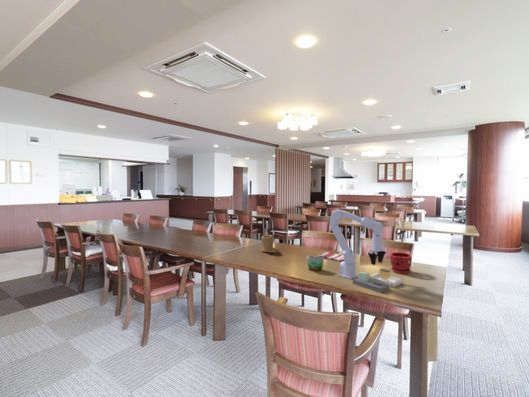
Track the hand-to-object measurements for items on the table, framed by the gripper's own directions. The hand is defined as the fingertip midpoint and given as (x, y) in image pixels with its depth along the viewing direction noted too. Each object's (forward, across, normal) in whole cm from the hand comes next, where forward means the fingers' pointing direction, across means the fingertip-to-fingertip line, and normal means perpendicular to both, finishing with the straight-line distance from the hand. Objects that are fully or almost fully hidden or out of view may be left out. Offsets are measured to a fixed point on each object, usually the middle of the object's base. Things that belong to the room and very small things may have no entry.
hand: (376, 263), depth 175 cm
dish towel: (+11, +22, +49) cm, 55 cm away
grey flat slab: (+10, -13, -4) cm, 17 cm away
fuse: (+10, -13, 0) cm, 17 cm away
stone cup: (+11, -9, +95) cm, 96 cm away
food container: (+11, -16, +36) cm, 41 cm away
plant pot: (+11, +28, -1) cm, 30 cm away
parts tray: (+10, +1, -5) cm, 12 cm away
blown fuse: (+10, +1, -5) cm, 11 cm away
